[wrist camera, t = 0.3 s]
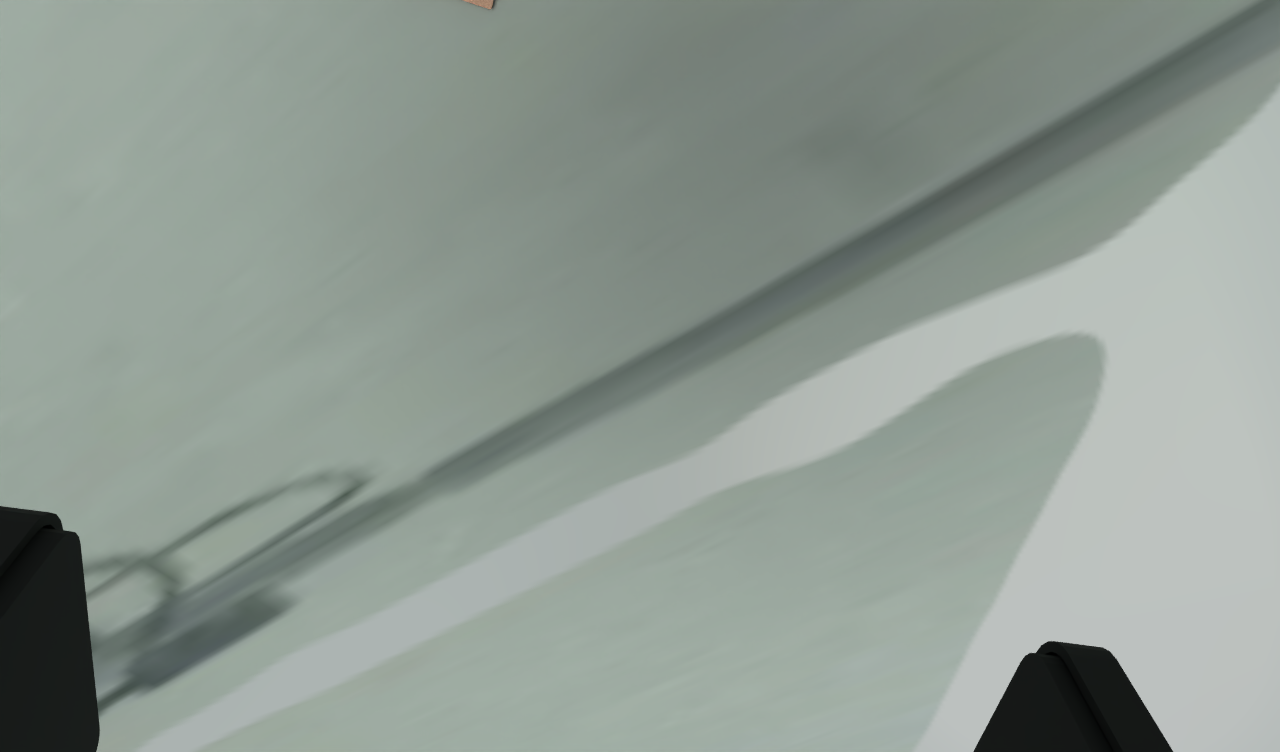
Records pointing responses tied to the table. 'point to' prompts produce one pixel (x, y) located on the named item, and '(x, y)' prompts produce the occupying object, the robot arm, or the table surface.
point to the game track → (482, 3)
